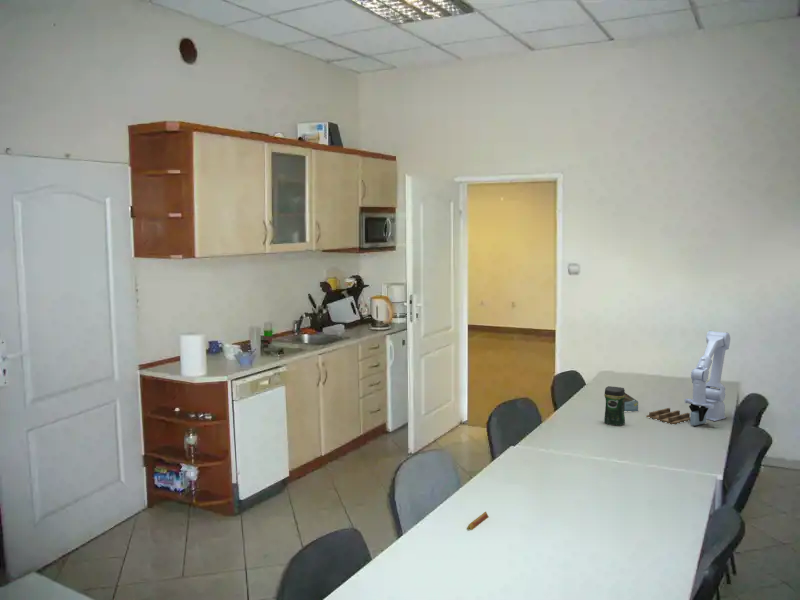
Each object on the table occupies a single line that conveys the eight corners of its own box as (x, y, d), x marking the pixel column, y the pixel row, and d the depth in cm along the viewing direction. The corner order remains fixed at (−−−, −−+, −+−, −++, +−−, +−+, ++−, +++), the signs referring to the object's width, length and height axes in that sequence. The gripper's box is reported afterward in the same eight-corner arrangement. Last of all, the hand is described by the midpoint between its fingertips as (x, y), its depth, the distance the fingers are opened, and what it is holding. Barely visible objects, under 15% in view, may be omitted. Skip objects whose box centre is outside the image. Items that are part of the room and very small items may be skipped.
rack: (665, 412, 358) (665, 407, 358) (692, 419, 345) (692, 414, 344) (646, 417, 350) (646, 411, 350) (673, 424, 337) (673, 418, 336)
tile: (701, 421, 339) (702, 409, 339) (706, 422, 337) (706, 410, 336) (690, 424, 335) (690, 412, 334) (694, 425, 332) (695, 413, 332)
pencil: (489, 518, 235) (489, 512, 235) (472, 531, 225) (472, 525, 225) (482, 516, 236) (482, 510, 236) (465, 529, 226) (465, 523, 226)
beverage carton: (623, 412, 361) (624, 400, 360) (610, 403, 380) (610, 391, 379) (638, 412, 361) (638, 399, 360) (624, 403, 380) (624, 391, 379)
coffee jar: (626, 423, 341) (627, 386, 339) (621, 427, 335) (622, 389, 333) (607, 420, 347) (607, 384, 345) (602, 424, 340) (602, 387, 338)
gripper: (680, 391, 338) (680, 418, 340) (707, 397, 326) (706, 425, 327) (689, 389, 342) (689, 415, 343) (716, 395, 330) (715, 422, 331)
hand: (698, 420), depth 336 cm, fingers closed on tile, 2 cm apart
